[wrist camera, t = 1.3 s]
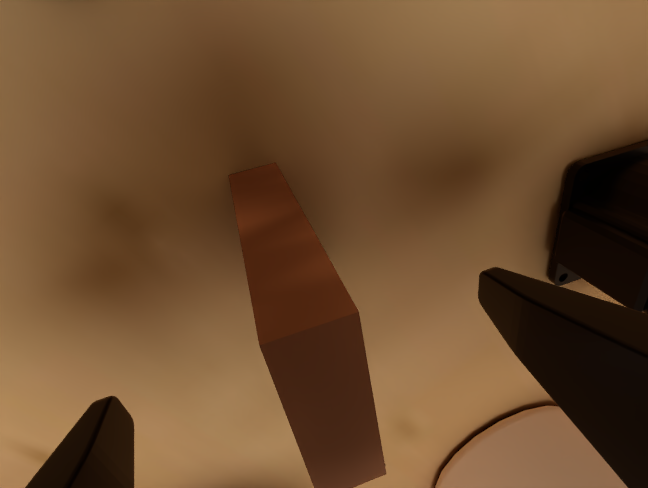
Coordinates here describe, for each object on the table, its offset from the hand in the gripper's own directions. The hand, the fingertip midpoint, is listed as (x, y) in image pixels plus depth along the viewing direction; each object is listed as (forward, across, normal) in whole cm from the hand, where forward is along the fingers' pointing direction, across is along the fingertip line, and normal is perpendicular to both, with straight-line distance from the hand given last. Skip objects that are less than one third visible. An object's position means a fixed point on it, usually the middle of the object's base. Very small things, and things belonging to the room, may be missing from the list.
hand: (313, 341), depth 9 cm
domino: (+6, 0, 0) cm, 6 cm away
